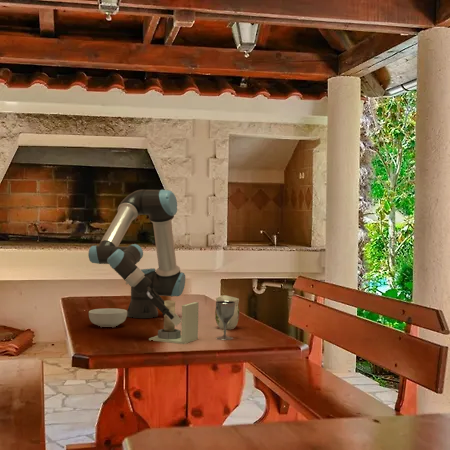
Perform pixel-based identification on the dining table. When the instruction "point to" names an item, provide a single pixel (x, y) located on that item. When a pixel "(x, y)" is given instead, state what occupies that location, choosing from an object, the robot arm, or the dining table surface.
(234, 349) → the dining table surface
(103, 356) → the dining table surface
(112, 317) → the cereal bowl
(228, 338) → the wine glass
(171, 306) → the beige mottled cylinder
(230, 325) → the pitcher
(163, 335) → the bracket
